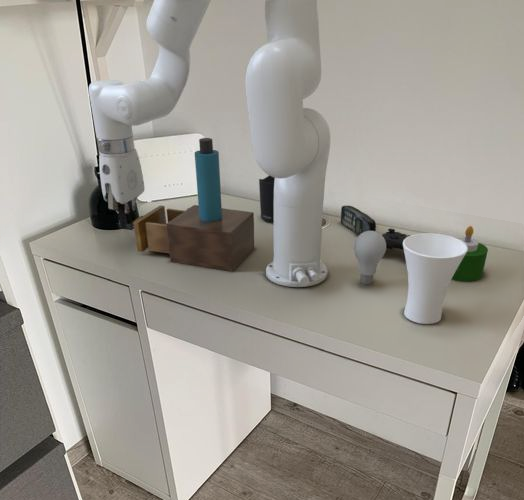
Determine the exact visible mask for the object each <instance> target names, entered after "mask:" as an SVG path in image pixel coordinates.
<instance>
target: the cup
mask: <svg viewBox="0 0 524 500" xmlns="http://www.w3.org/2000/svg"><path fill="white" fill-rule="evenodd" d="M410 235H411V236H409V237H407V238H405V239H404V240H403V248H404V250H403V253H404V258H405V264H406V270H407V277H408V278H407V281H408V283H407V284H408V289H407V300H406V304H405V307H404V311H403V314H404V317H406V319H408V320H409V321H411V322H413V323H417V324H423V325H430V324H431V325H432V324H436V323H439V321H440V320H442V315H443V314H442V313H443V303H444V301H445V297H446V293H447V291H448V288H449V286H450V283H451V281H452V280H453V279H452V277H453V275H454V273H455V272H456V270H457V268H458V266H459V264H460V263H461V261H462V259H463V258H464V256H465V254H466V253H467V251H468V247H467V245H466V244H465V243H464V242H463V241H461V240H459V239H458V238H457V237H455V236H451V235H448V234H442V233H434V232H423V233H414V234H410Z"/></svg>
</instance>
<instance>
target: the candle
mask: <svg viewBox="0 0 524 500" xmlns="http://www.w3.org/2000/svg"><path fill="white" fill-rule="evenodd" d="M464 233H465V237H458V238H457V239H459V240H461V241H463V242H464V243H465V244H466V245H467V247H468V251H467V253H466V254H465V256H464V258H463V259H462V261H461V263H460V264H459V266H458V268H457V270H456V272H455V273H454V275H453V277H452V279H451V280H453V281H457V282H475V281H478V280H480V279H481V278H482V277H483V273H484V269H485V266H486V260H487V256H488V251H489V249H488V247H487V246H486V245H485V244H483V243H481V242H479V241H478V240H477V239H476V238H472V236H473V234H474V228H473V226H472V225H469V226H468V227H467V228H466V230H465V231H464Z"/></svg>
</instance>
